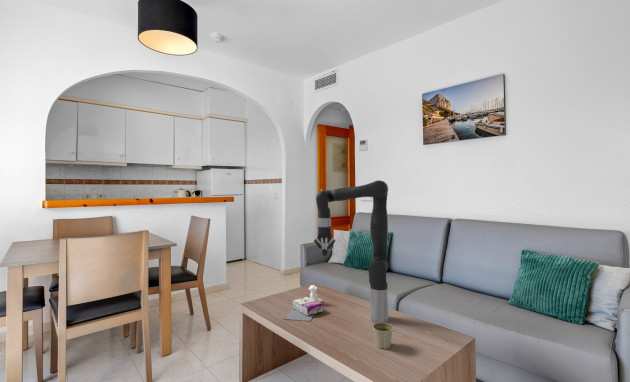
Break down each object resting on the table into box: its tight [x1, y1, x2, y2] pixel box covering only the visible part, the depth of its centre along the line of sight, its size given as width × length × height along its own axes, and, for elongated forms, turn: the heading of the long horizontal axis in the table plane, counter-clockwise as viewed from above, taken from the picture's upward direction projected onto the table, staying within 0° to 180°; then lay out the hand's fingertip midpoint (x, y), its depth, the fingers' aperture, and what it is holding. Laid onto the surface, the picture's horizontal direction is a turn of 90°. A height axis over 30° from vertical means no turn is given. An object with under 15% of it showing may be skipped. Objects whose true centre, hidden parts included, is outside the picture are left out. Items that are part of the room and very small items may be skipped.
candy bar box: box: [292, 296, 324, 316], centre depth 185 cm, size 11×5×16 cm
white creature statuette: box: [307, 284, 323, 303], centre depth 195 cm, size 10×9×12 cm
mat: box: [285, 309, 315, 322], centre depth 178 cm, size 15×13×1 cm
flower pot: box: [372, 322, 394, 350], centre depth 143 cm, size 9×9×9 cm
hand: (325, 255), depth 181 cm, fingers closed
